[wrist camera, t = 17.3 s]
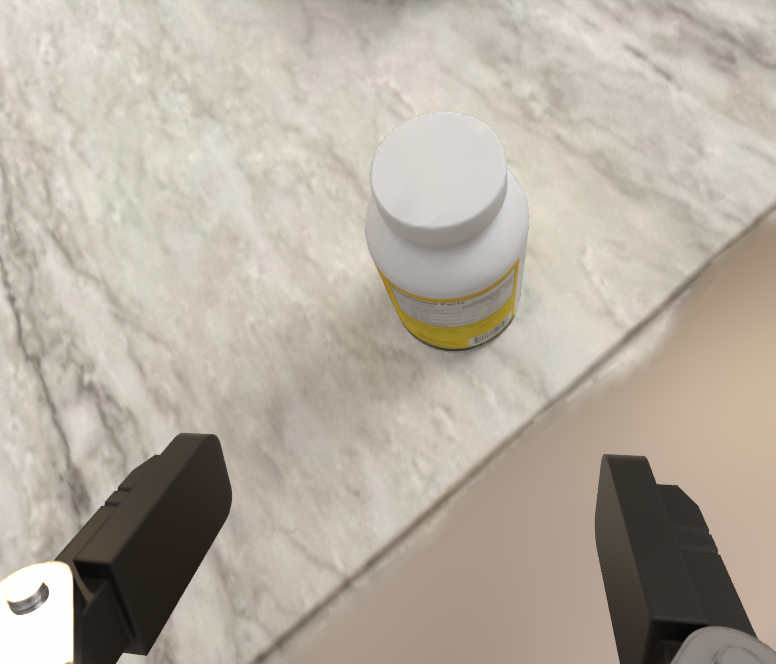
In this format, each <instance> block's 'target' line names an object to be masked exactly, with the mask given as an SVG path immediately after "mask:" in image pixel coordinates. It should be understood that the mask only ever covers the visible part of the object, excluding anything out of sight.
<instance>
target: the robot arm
mask: <svg viewBox="0 0 776 664" xmlns="http://www.w3.org/2000/svg"><path fill="white" fill-rule="evenodd" d="M231 503H232V489H231V485H230V481H229V476H228V472H227V468H226V464H225V460H224V456H223V452H222V448H221V444H220V441H219V439H218V437H217V436H216V435H213V434H194V433H180V434H178V435H177V436H176V437H175V438H174V439H173V440H172V442H171V443H170V444H169V445H168V446H167V448H166V449H165V450H164V451H163V452H162V454H161V455H154V456H153V457H151V458H150V459H149V460H147V461H146V462H144V463H143V464H141V465H140V466H138V467H137V468H135V469H134V470H133V471H132V472H131V473H130V474H129V475H128V476H127V478H126V479H125V480H124V481H123V482H122V483H121V484H120V486H119V487H118V490H117V491H114V492H113V494H112V495H111V496H110V497H109V498H108V499H107V500H106V502H105V506H101V507H100V508H99V510H98V511H97V512H96V513H95V514H94V515H93V516H92V518H91V519H90V520H89V521H88V522H87V523H86V524H85V526H84V527H83V528H82V529H81V530H80V531H79V532H78V534H77V535H76V536H75V537H74V538H73V539H72V540H71V542H70V543H69V544H68V545H67V546H66V547H65V548H64V550H63V551H62V552H61V553H60V554H59V555H58V556H57V558H56V559H55V560H54V561H45V562H40V563H36V564H33V565H30V566H27V567H25V568H23V569H21V570H19V571H17V572H15V573H13V574H12V575H10V576H9V577H7V578H6V579H4V580H3V581H2V582H0V664H116V663H117V661H118V660H119V658H120V656H121V655H122V653H130V654H138V655H145V656H147V655H148V653H149V651H150V650H151V648H152V646H153V644H154V643H155V641H156V639H157V638H158V636H159V634H160V632H161V631H162V629H163V627H164V626H165V624H166V622H167V620H168V619H169V617H170V615H171V614H172V612H173V610H174V608H175V607H176V605H177V603H178V601H179V600H180V598H181V596H182V595H183V593H184V591H185V589H186V588H187V586H188V584H189V583H190V581H191V579H192V577H193V576H194V574H195V572H196V571H197V569H198V567H199V565H200V564H201V562H202V560H203V559H204V557H205V555H206V553H207V552H208V550H209V548H210V547H211V545H212V543H213V541H214V540H215V538H216V536H217V535H218V533H219V531H220V529H221V528H222V526H223V524H224V523H225V521H226V519H227V517H228V515H229V512H230V508H231ZM595 537H596V546H597V551H598V557H599V562H600V567H601V572H602V576H603V581H604V586H605V591H606V596H607V601H608V606H609V611H610V616H611V621H612V626H613V631H614V636H615V641H616V646H617V651H618V656H619V661H620V664H776V652H775V651H774V650H773V649H772V648H770V647H769V646H768V645H766V644H765V643H763V642H762V641H760V640H759V639H758V638H757V636H756V634H755V632H754V630H753V628H752V626H751V624H750V621H749V619H748V617H747V614H746V612H745V610H744V608H743V606H742V603H741V601H740V599H739V596H738V594H737V592H736V590H735V588H734V585H733V583H732V581H731V578H730V576H729V574H728V572H727V570H726V567H725V565H724V563H723V560H722V558H721V556H720V555H718V549H717V547H716V545H715V542H714V540H713V538H712V536H711V535H710V534H709V529H708V527H707V525H706V522H705V520H704V518H703V515H702V513H701V511H700V509H699V506H698V505H697V504H696V503H695V502H694V501H692V500H691V498H690V497H688V496H687V495H686V494H685V493H684V492H683V491H682V490H681V489H680V488H679V487H678V486H677V485H661V484H656V481H655V478H654V476H653V473H652V470H651V468H650V465H649V462H648V460H647V458H646V457H645V456H631V455H611V454H604V455H603V457H602V460H601V468H600V477H599V486H598V494H597V504H596V513H595Z"/></svg>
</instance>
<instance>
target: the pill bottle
mask: <svg viewBox="0 0 776 664" xmlns="http://www.w3.org/2000/svg"><path fill="white" fill-rule="evenodd" d="M370 185H371V190H372V196H371V199H370V201H369V204H368V208H367V212H366V219H365V234H366V241H367V245H368V248H369V251H370V254H371V256H372V259H373V261H374V263H375V265H376V267H377V270H378V272H379V274H380V276H381V279H382V281H383V283H384V285H385V287H386V290H387V292H388V294H389V296H390V299H391V301H392V303H393V305H394V307H395V309H396V311H397V314H398V316H399V318H400V320H401V322H402V323H403V325H404V326H405V328H406V329H407V330H408V331H409V333H411V334H412V335H413V336H414V337H415V338H416V339H417V340H419V341H420V342H422V343H423V344H425V345H427V346H429V347H431V348H434V349H437V350H441V351H446V352H466V351H471V350H474V349H478V348H480V347H483V346H485V345H487V344H489V343H490V342H492V341H493V340H495V339H496V338H497V337H499V336H500V335H501V334H502V333H503V332H504V331H505V330H506V329H507V327H508V326H509V325H510V323H511V322H512V320H513V318H514V316H515V314H516V312H517V309H518V305H519V301H520V295H521V285H522V276H523V269H524V261H525V253H526V244H527V236H528V228H529V209H528V203H527V200H526V196H525V193H524V191H523V189H522V187H521V185H520V183H519V181H518V180H517V178H516V177H515V176H514V174H513V173H512V172H511V171H510V170H509V169H508V168H507V159H506V154H505V150H504V148H503V145H502V143H501V142H500V140H499V138H498V137H497V135H496V134H495V133H494V132H493V131H492V130H491V129H490V128H489V127H488V126H486V125H485V124H484V123H483V122H481V121H479V120H477V119H476V118H474V117H471V116H468V115H465V114H461V113H456V112H433V113H428V114H423V115H419V116H417V117H414V118H412V119H409V120H408V121H406V122H404V123H402V124H401V125H399V126H398V127H396V128H395V129H394V130H393V131H392V132H390V133H389V134H388V135H387V136H386V137H385V139H384V140H383V141H382V142H381V144H380V145H379V147H378V149H377V150H376V152H375V154H374V157H373V160H372V163H371V168H370Z"/></svg>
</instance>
